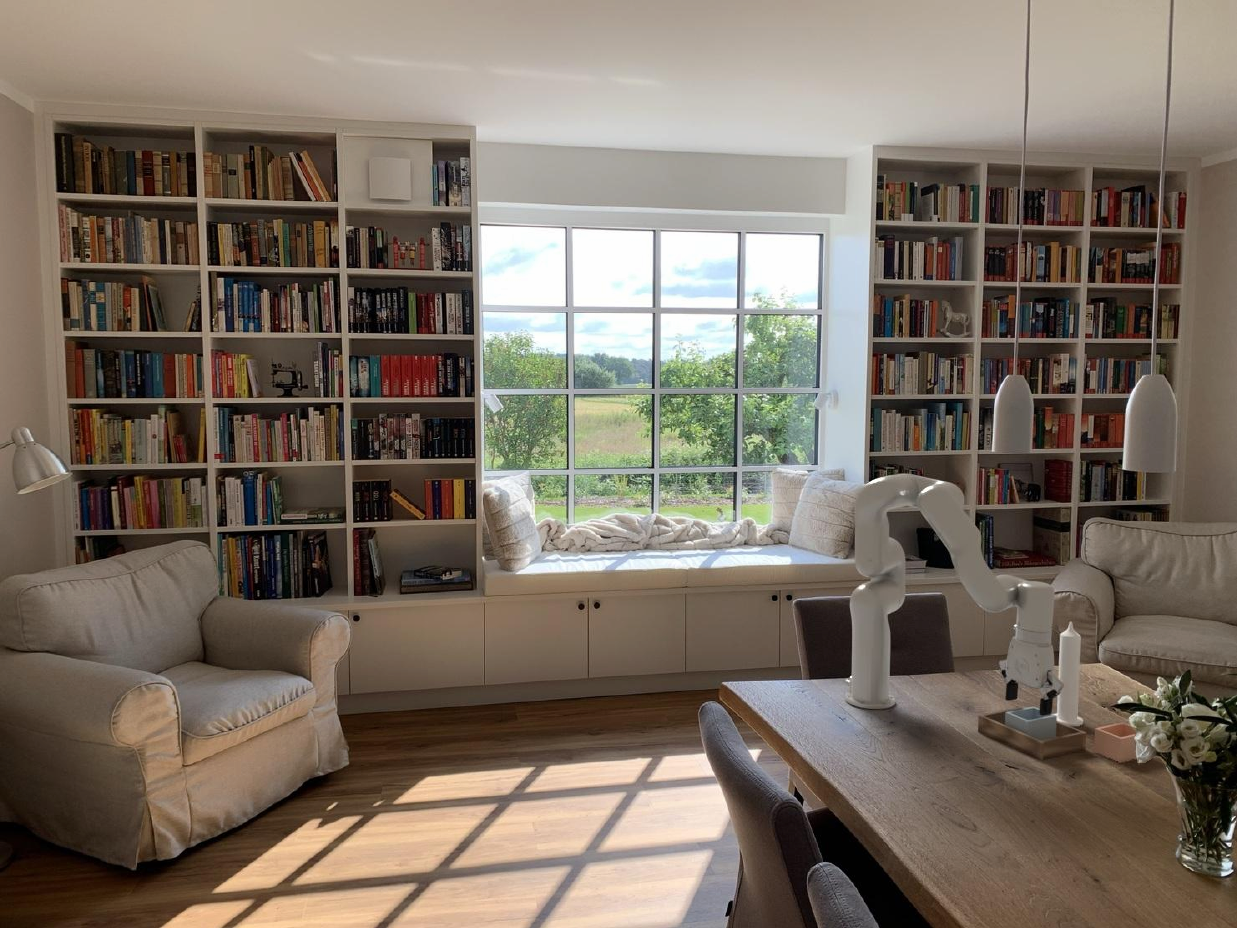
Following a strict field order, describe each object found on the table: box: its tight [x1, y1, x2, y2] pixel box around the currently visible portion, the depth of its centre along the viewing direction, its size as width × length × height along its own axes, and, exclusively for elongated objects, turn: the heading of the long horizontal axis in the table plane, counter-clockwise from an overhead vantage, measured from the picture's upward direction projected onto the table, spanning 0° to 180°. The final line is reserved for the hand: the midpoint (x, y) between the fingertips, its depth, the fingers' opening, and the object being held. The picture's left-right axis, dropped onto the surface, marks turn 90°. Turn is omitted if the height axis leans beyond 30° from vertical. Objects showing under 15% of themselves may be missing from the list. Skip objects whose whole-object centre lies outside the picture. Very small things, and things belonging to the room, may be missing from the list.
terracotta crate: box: [1093, 722, 1136, 764], centre depth 200 cm, size 6×9×6 cm
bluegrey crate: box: [1005, 706, 1057, 741], centre depth 208 cm, size 6×9×6 cm
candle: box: [1052, 621, 1084, 727], centre depth 219 cm, size 7×7×25 cm
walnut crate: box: [977, 706, 1087, 761], centre depth 208 cm, size 18×14×4 cm
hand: (1027, 706), depth 208 cm, fingers open, 9 cm apart
